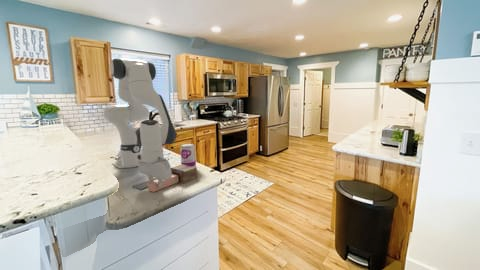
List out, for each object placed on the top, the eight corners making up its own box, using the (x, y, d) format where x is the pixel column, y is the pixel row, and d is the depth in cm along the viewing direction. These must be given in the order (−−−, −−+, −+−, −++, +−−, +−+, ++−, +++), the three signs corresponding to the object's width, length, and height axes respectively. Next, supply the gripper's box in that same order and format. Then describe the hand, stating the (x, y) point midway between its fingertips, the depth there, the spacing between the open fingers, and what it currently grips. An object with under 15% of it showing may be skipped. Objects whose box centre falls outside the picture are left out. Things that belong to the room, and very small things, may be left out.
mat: (132, 187, 103) (132, 185, 103) (161, 176, 116) (161, 175, 116) (140, 190, 99) (140, 189, 99) (169, 179, 112) (169, 178, 112)
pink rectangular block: (148, 190, 98) (147, 182, 97) (173, 180, 109) (172, 173, 109) (153, 192, 96) (152, 184, 95) (178, 181, 107) (178, 175, 106)
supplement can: (192, 172, 122) (191, 146, 119) (179, 171, 123) (177, 146, 121) (198, 167, 129) (196, 143, 127) (185, 167, 131) (183, 143, 129)
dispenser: (169, 179, 112) (168, 167, 111) (183, 174, 119) (182, 162, 118) (183, 183, 105) (182, 170, 104) (197, 177, 113) (196, 165, 112)
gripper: (173, 157, 93) (176, 187, 96) (146, 152, 105) (149, 179, 107) (161, 160, 88) (164, 192, 90) (134, 155, 100) (137, 183, 102)
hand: (156, 185), depth 99 cm, fingers closed on pink rectangular block, 4 cm apart
